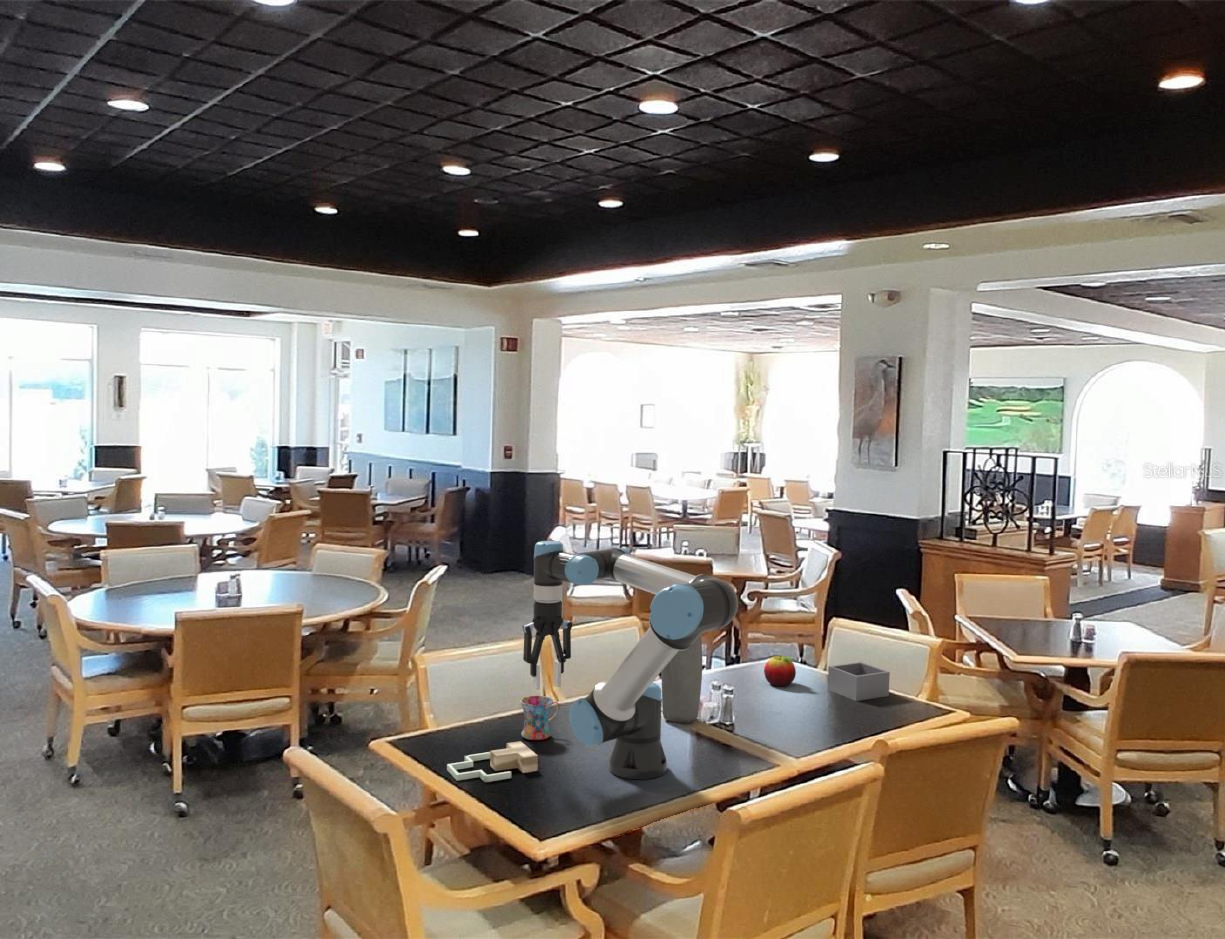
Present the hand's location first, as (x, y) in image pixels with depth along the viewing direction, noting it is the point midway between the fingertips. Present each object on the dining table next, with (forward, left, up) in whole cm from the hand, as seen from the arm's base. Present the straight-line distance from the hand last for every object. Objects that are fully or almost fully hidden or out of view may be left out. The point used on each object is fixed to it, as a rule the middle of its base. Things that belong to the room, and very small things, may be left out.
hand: (546, 686), depth 260 cm
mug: (+18, -6, -20) cm, 28 cm away
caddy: (+14, -119, -20) cm, 121 cm away
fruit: (+33, -101, -20) cm, 108 cm away
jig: (0, +20, -20) cm, 28 cm away
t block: (0, +10, -20) cm, 22 cm away
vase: (+14, -50, -20) cm, 56 cm away
